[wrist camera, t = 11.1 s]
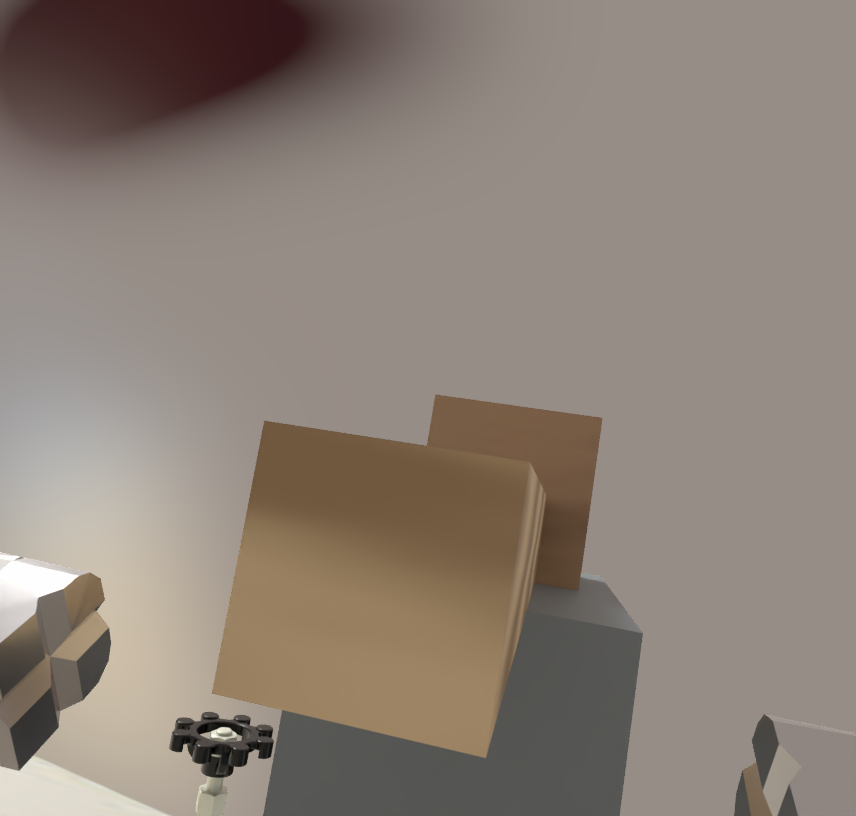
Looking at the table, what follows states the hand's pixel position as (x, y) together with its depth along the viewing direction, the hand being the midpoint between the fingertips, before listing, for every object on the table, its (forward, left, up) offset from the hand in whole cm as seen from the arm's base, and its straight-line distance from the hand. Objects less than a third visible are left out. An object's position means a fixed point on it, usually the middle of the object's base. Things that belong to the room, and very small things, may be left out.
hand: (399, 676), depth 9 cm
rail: (+7, +12, -1) cm, 14 cm away
